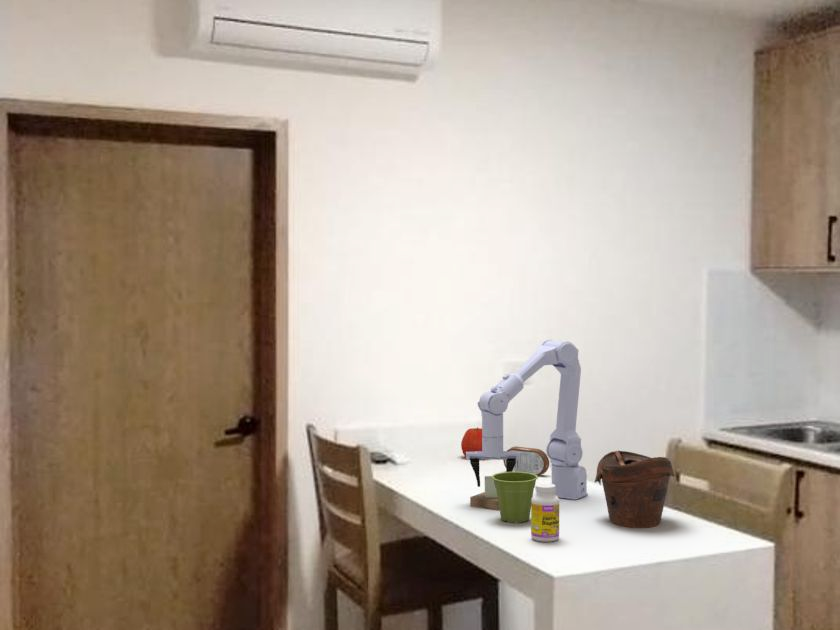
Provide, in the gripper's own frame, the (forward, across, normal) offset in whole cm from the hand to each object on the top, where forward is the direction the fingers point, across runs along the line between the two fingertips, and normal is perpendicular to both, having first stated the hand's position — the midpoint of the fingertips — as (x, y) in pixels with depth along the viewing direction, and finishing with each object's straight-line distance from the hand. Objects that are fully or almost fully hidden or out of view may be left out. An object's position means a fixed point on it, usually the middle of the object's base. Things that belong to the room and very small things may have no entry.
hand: (492, 486), depth 272 cm
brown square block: (+6, 0, 0) cm, 6 cm away
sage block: (+3, 0, 0) cm, 3 cm away
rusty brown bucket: (+5, -35, +18) cm, 40 cm away
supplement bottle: (+5, -11, +34) cm, 37 cm away
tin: (+6, -11, -42) cm, 43 cm away
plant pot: (+6, -5, +16) cm, 18 cm away
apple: (+6, +3, -70) cm, 70 cm away
